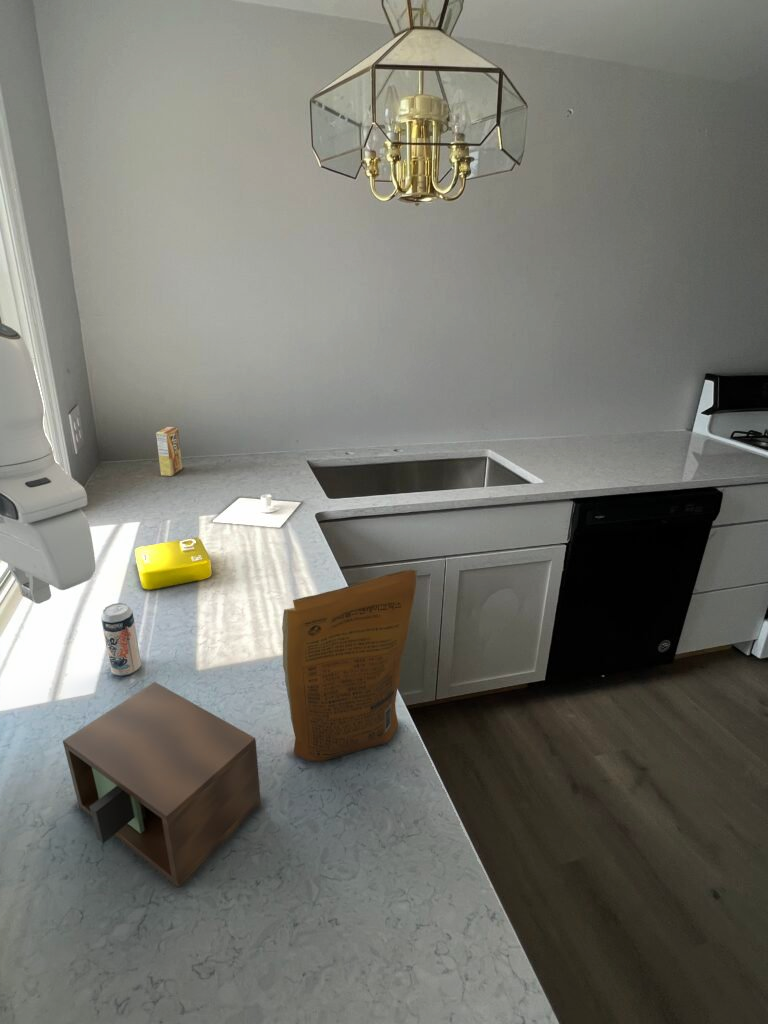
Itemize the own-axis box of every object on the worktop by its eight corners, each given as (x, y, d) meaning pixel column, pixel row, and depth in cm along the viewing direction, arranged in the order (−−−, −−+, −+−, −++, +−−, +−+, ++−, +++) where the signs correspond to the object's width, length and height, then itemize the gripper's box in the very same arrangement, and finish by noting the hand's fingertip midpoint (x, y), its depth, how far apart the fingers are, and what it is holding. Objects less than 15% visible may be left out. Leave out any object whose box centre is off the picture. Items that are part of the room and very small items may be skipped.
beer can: (105, 674, 95) (93, 614, 90) (123, 658, 99) (113, 599, 95) (129, 679, 94) (118, 618, 89) (147, 662, 98) (137, 603, 94)
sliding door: (109, 860, 63) (97, 805, 60) (68, 825, 67) (54, 772, 64) (145, 830, 67) (134, 776, 64) (103, 798, 71) (92, 746, 68)
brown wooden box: (178, 888, 62) (166, 816, 58) (78, 807, 71) (62, 740, 67) (260, 803, 72) (255, 737, 68) (164, 742, 81) (154, 681, 77)
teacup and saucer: (274, 515, 162) (273, 502, 160) (248, 513, 163) (247, 500, 162) (284, 505, 170) (283, 492, 169) (259, 503, 171) (258, 490, 170)
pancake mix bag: (418, 744, 82) (429, 576, 72) (291, 781, 75) (282, 602, 65) (400, 713, 88) (407, 554, 77) (280, 745, 81) (271, 576, 71)
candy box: (171, 468, 201) (166, 426, 196) (183, 468, 201) (178, 427, 195) (160, 475, 193) (155, 432, 188) (172, 476, 193) (167, 433, 187)
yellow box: (136, 563, 133) (133, 545, 131) (201, 551, 139) (199, 534, 137) (143, 592, 120) (139, 572, 119) (213, 578, 127) (211, 559, 125)
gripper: (-72, 471, 60) (-39, 583, 65) (31, 512, 50) (59, 640, 55) (-9, 458, 65) (17, 563, 70) (96, 493, 55) (117, 612, 60)
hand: (37, 598), depth 63 cm, fingers closed
